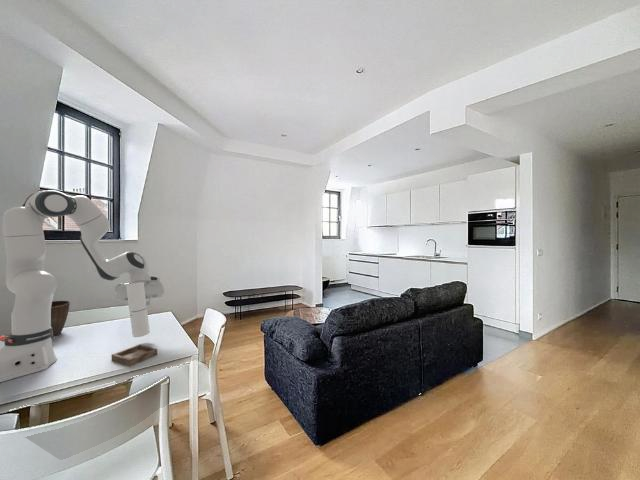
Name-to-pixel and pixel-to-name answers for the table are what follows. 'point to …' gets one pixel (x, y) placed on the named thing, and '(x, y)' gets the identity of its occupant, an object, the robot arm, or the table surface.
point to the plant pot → (59, 315)
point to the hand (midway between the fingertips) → (142, 305)
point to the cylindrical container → (138, 309)
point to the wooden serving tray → (134, 355)
